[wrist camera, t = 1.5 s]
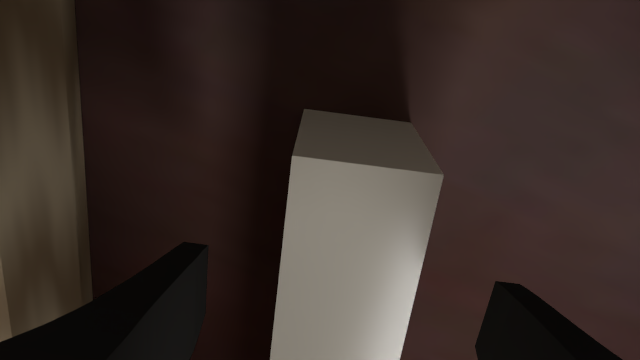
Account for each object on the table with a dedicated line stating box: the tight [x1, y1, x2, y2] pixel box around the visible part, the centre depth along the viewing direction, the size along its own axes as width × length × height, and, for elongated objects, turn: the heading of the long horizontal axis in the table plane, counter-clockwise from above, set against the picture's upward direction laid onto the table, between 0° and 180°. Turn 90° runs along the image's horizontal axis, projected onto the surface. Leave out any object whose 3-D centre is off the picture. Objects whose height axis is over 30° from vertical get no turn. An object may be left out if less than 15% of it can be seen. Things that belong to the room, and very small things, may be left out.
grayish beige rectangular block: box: [270, 109, 444, 360], centre depth 15 cm, size 13×4×5 cm, turn 173°
